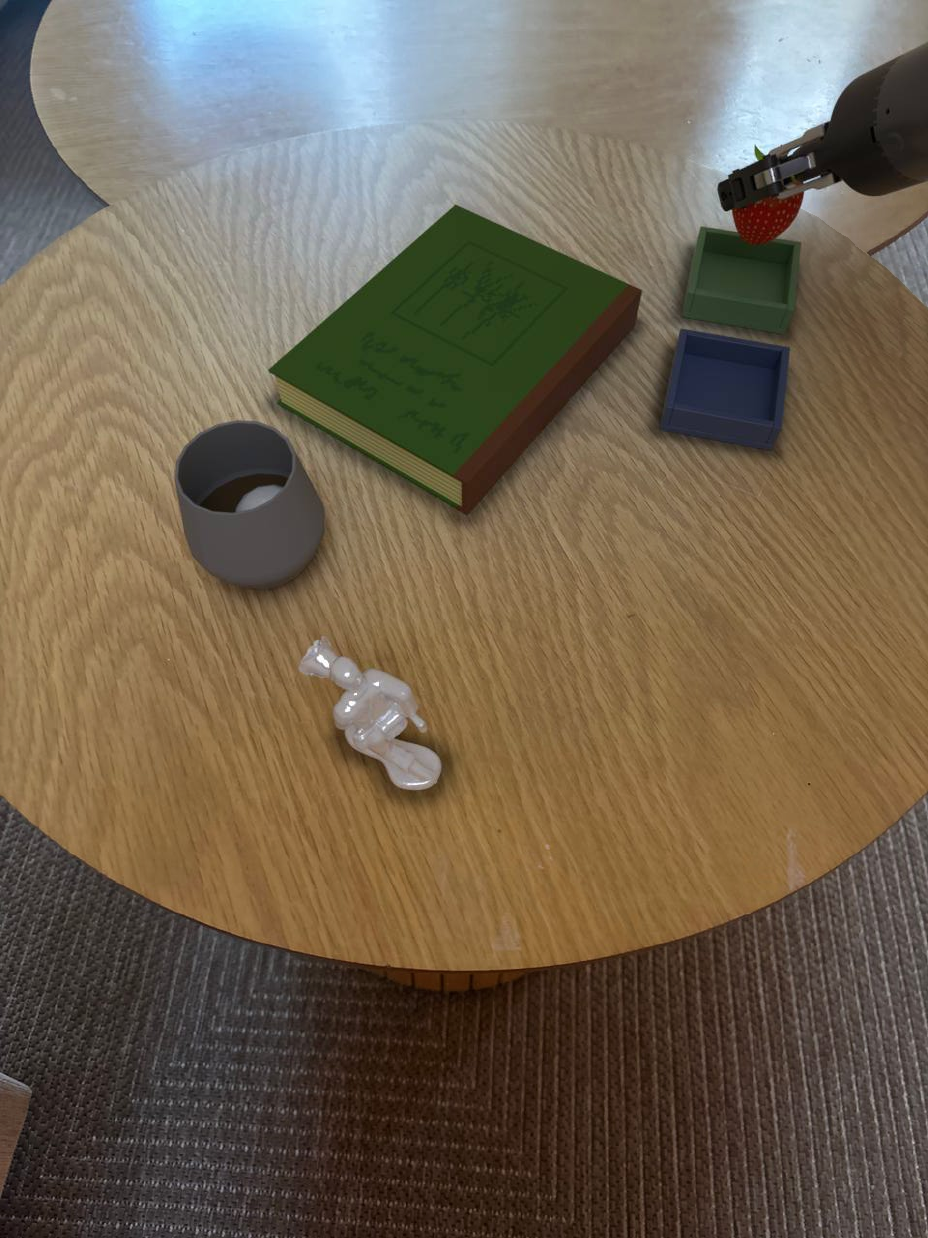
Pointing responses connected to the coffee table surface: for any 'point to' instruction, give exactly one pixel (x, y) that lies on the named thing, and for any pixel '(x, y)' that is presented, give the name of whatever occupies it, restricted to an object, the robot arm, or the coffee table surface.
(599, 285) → the hardcover book
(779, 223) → the fruit
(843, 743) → the coffee table surface
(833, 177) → the robot arm
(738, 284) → the green tray
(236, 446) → the cup
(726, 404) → the blue tray
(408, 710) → the figurine
